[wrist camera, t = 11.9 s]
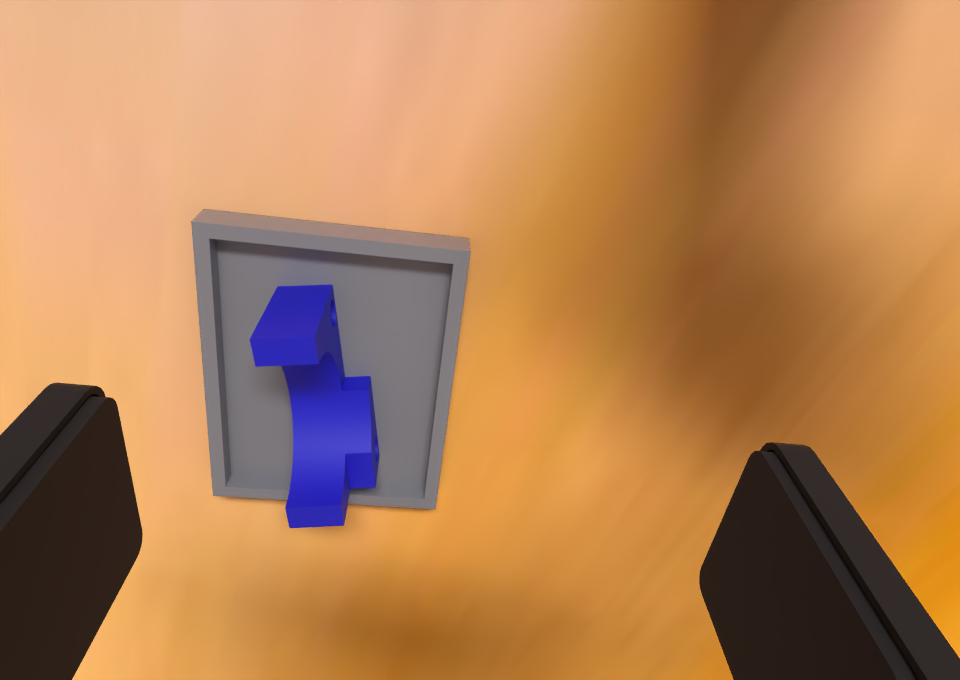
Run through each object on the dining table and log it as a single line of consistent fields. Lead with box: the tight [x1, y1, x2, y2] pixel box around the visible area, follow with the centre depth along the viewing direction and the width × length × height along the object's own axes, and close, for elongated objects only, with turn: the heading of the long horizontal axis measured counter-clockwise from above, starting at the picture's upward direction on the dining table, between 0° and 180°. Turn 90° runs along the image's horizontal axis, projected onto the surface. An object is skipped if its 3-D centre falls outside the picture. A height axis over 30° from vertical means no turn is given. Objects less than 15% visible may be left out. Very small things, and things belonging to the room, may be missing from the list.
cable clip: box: [250, 284, 380, 528], centre depth 36 cm, size 12×4×6 cm, turn 1°
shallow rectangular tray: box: [191, 209, 470, 509], centre depth 38 cm, size 14×18×2 cm
